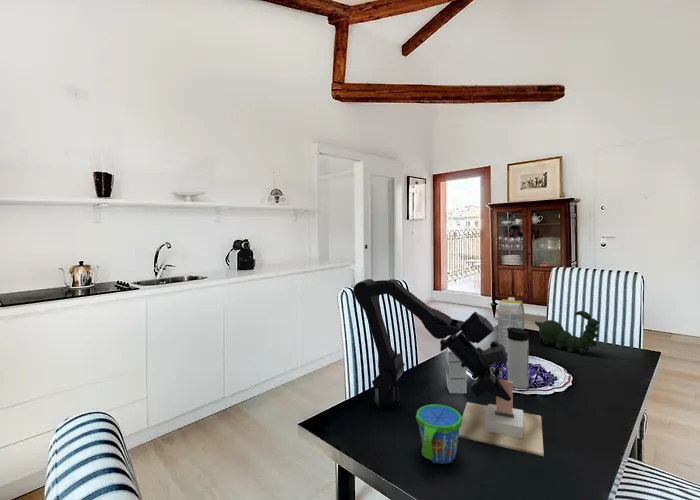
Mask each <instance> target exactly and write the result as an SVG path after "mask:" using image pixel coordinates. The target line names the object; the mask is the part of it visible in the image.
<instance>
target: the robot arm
mask: <svg viewBox="0 0 700 500" xmlns="http://www.w3.org/2000/svg"><path fill="white" fill-rule="evenodd" d="M352 292H353V296H354V297H355V300H356V302H357V303H358V305H359V306H360V307H361V308H362V309H363V311H364V313H365V316H366V319H367V322H368V325H369V326H368V327H369V329H370V332H371V335H372V339H373V342H374V344H375V348H376V353H377V355H378V357H377V369H378V375H377V376H376V377H375V378H374V379H373V380H372V381H371V382H372V386H373V388H374V391H375V392H374V393H375V394H374V395H375V396H374V397H373V401H374V402H375V404H376V405H377V407H378V408H379V409H380V410H385V409H389V408H395V407H399V406H400V405H401V404H400V402H399V401H400V395H399V394H400V391H399V387H398V384H397V381H398V379H400V377H401V376H402V375H403V373H404V370H405V369H404V366H405V365H406V364H405V363H404V360H403V357H402V354H401V352H399V353H396V351H395V350H394V349H393V347H392V344H391V340H390V337H389V334H388V331H387V327H386V325H385V321H384V318H383V314H382V312H381V309H380V304H379V303H380V296H383V295H389V296H390V297H392V299H394V300H395V301H397V302H398V303H399V304H400V305H401V306H403V307H404V308H405V309H407V310H408V311H409V312H410V313H411V314H413V315H414V316H415V317H417V318H418V319H419V320H420V322H421V324H422V325H423V327H424V328H425V329H426V331H428V333H430V334H431V336H432V337H433V338H435V339H437V340H440V341H439V343H440V348H439V349H440V352H444V351H446V348H447V347H448V348H449V350H450V351H451V352H452V353H453V354H454V355H455V356H456V357H457V358H458V359H459V360H460V361H461V362H462V363H461V366H462V367H463V368H464V367H466V370H468V371H469V372H470V373H471V374H472V375H471V379H473V381H472V384H471V387H470V391H471V393H472V394H473V395H474V396H475V397H476V398H479V397H480V396H482V395H483V394H484V393H488V394H491V395H494V396H495V397H496V396H498V397H500V398H502V399H504V400H506V401H510V400H511V397H510V396H509V394H508V393H507V392H506V390H505V389H504V388H503V386H502V385H501V384H500V382H499V379H502V377H501V367H500V366H497V367H496V368H495V367H492V366H493V365H495V364H498V363H505V362H508V358H507V357H508V355H507V353H506V351H505V347H504V346H503V345H502V344H499V343H498V340H493V341H491V342H490V346H489V347H488V348H486V349H482V348H481V347H479V346H477V347H476V346H475V345H474V344H479V343H481V342H482V341H484V339H486V338H487V337H488V336H489V335H491V334H492V333H493V332H494V331H495V327H494V326H493V325H492V323H491V322H490V320H489V319H487V318H486V317H484V316H483V315H481V314H479V313H478V312H477V311H474V312H472V313H471V315H470V316H469V317H467V319H466V320H464V321H463V320H460V319H459V320H458V319H456V318H452V317H451V316H449V315H448V314H445V313H444V312H443V311H440V310H439V309H436V308H433V307H431V306H429V305H428V304H426V303H425V302H424V301H422V300H421V299H419V298H418V297H417V296H416V295H414V293H412V292H411V291H409V290H408V289H407V288H405V287H404V286H403V285H402V284H401V283H400V282H399V281H397V279H394V278H391V279H387V280H386V279H383V280H373V279H371V278H367V279H364V280H361V281H359V282H356V283H355V285H354V287H353V289H352ZM448 336H449V337H448Z"/></svg>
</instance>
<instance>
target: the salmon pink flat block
mask: <svg viewBox="0 0 700 500" xmlns="http://www.w3.org/2000/svg"><path fill="white" fill-rule="evenodd" d="M499 382H500V384H501V385H502V386H503V388H504V389H505V390H506V392H507V393H508V394H509V396H510V397H511V400H510V401H506V400H504V399H502V398H500V397H498V396H495V405H496V412H498V413H503V414H508V415H513V408H514V407H513V404H514V403H513V402H514V401H513V393H514V392H513V391H514V390H513V381H509V380H508V379H502V378H501V379H499Z"/></svg>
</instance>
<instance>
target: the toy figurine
mask: <svg viewBox="0 0 700 500" xmlns="http://www.w3.org/2000/svg"><path fill="white" fill-rule="evenodd" d="M574 316H581V317H582V318H584V320H587V322H586V325H585V328H584V329H585V330H583V332H582V335H581V336H580V337H579V336H575V335H572V334H571V333H570V332H569V331H567V330H565V329H564V327H563V325H561V323H559V322H558V321H556V320H552V319H551V320H550V319H549V320H548V319H547V320H545V321H542V322H541V321H534V322H533V323H534V324H535V325H536V326H537V327H538V328H539V329H538V331H539V337H540V338H542V339H543V340H542V342H543V343H544V345H546V346H550V345H552V343H555V347H556V348H557V349H559V350H560V349H562V348H567V349H566V350H567V352H568V353H570V354H571V353H573V351H578V352H579V353H580V354H584V353H585V352H588V351H589V350H590V348H593V347H596V346H598V345H597V344H598V342H597V341H595V338H596V339H598V337H599V334H597V333H596V332H598V331H599V329H600V328H599V327H598V325H599V324H600V322H599V321H598V320H597V319H595V318H592V317H591V314H590V313H588V311H584V310H579V311H576V312H575V313H574Z"/></svg>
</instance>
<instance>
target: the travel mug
mask: <svg viewBox="0 0 700 500" xmlns="http://www.w3.org/2000/svg"><path fill="white" fill-rule="evenodd" d="M507 331H508V358H507V380H509V381H513V388H517V389H527V388H528V389H529V331H526V330H525V329H524V330H523V329H519V328H507ZM528 389H527V390H528Z"/></svg>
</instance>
